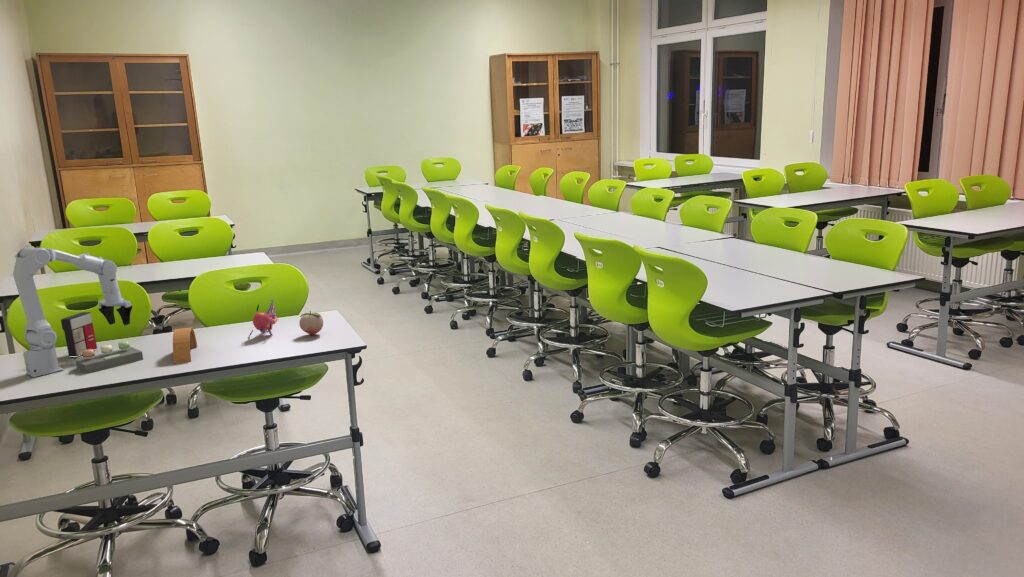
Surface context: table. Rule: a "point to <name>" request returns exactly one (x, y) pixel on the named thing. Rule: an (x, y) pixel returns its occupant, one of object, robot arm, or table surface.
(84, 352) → the terracotta button
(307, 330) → the decorative fruit
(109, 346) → the cream button
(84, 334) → the grey and red box
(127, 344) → the sage button
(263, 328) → the heart model
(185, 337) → the arch
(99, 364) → the button panel
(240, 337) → the table surface
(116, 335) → the table surface
